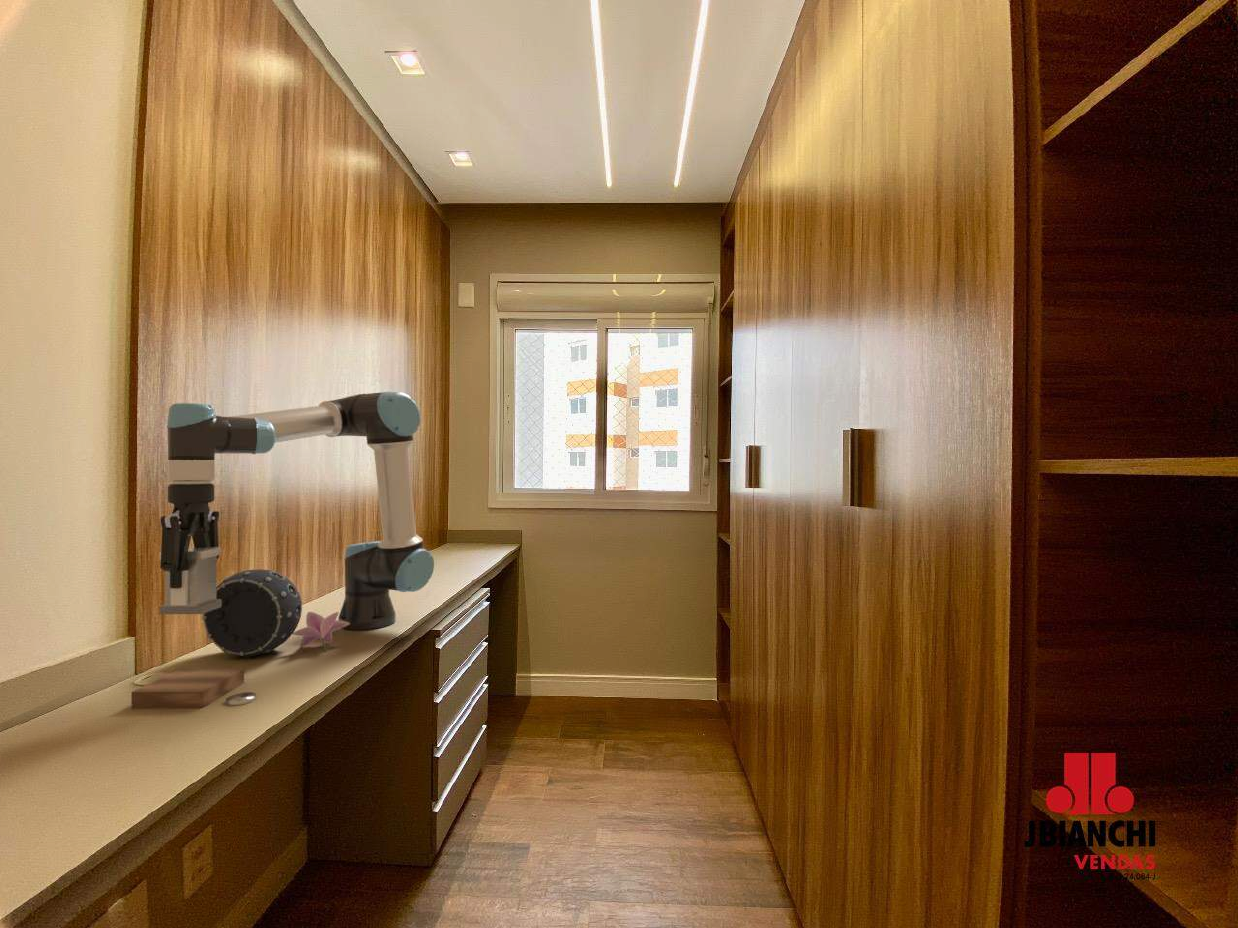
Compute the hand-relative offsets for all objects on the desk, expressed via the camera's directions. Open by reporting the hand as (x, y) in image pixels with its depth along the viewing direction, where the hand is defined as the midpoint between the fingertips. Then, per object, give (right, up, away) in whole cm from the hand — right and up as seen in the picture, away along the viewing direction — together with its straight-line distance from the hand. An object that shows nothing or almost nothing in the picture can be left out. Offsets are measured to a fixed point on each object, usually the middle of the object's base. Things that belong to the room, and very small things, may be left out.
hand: (191, 600), depth 120 cm
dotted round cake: (-3, -19, +26) cm, 32 cm away
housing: (0, -2, 0) cm, 2 cm away
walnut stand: (0, -18, 0) cm, 18 cm away
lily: (+11, -19, +31) cm, 37 cm away
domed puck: (+12, -19, -3) cm, 22 cm away
